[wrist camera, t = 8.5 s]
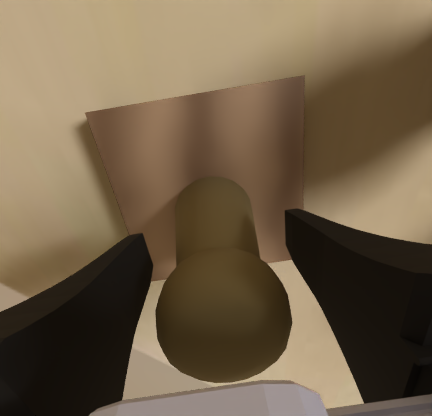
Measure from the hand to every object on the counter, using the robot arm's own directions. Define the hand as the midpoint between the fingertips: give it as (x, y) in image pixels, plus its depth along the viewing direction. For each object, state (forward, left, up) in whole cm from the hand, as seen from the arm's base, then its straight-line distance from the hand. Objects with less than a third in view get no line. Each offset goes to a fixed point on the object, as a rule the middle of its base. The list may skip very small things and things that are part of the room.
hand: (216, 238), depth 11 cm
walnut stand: (0, 0, -8) cm, 8 cm away
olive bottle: (0, +1, -6) cm, 6 cm away
